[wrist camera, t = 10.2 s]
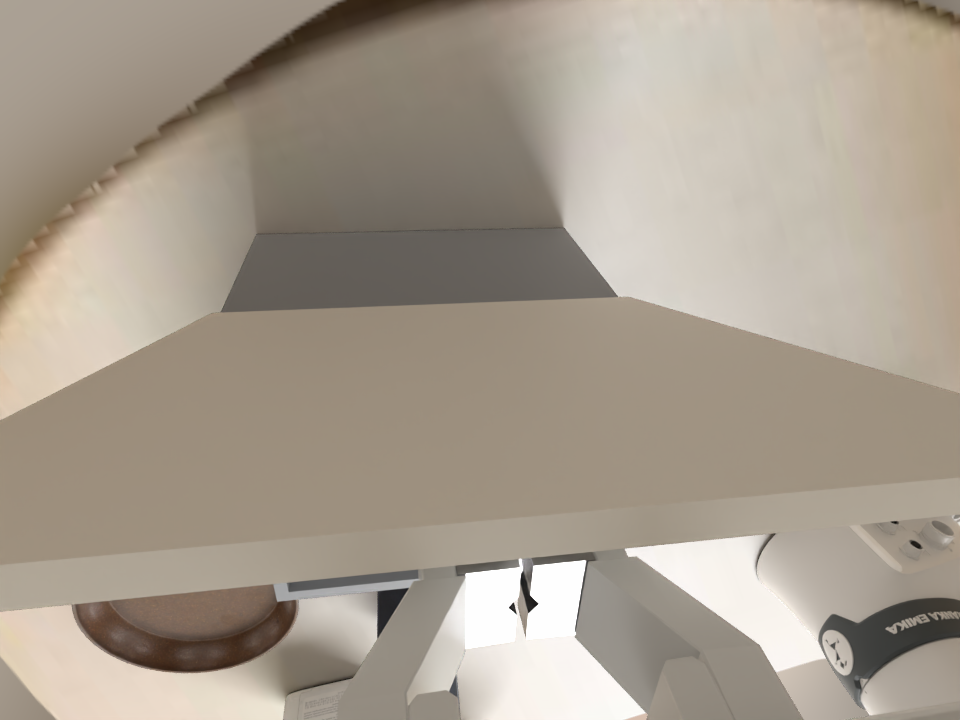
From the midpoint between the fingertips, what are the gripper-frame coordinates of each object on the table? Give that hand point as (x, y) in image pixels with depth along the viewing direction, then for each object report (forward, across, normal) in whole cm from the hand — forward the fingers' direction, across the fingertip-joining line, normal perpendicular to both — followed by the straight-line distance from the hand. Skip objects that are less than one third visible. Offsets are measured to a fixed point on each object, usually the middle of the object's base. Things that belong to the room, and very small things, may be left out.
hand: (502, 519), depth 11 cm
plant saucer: (+32, +20, +37) cm, 53 cm away
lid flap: (+8, 0, +2) cm, 8 cm away
